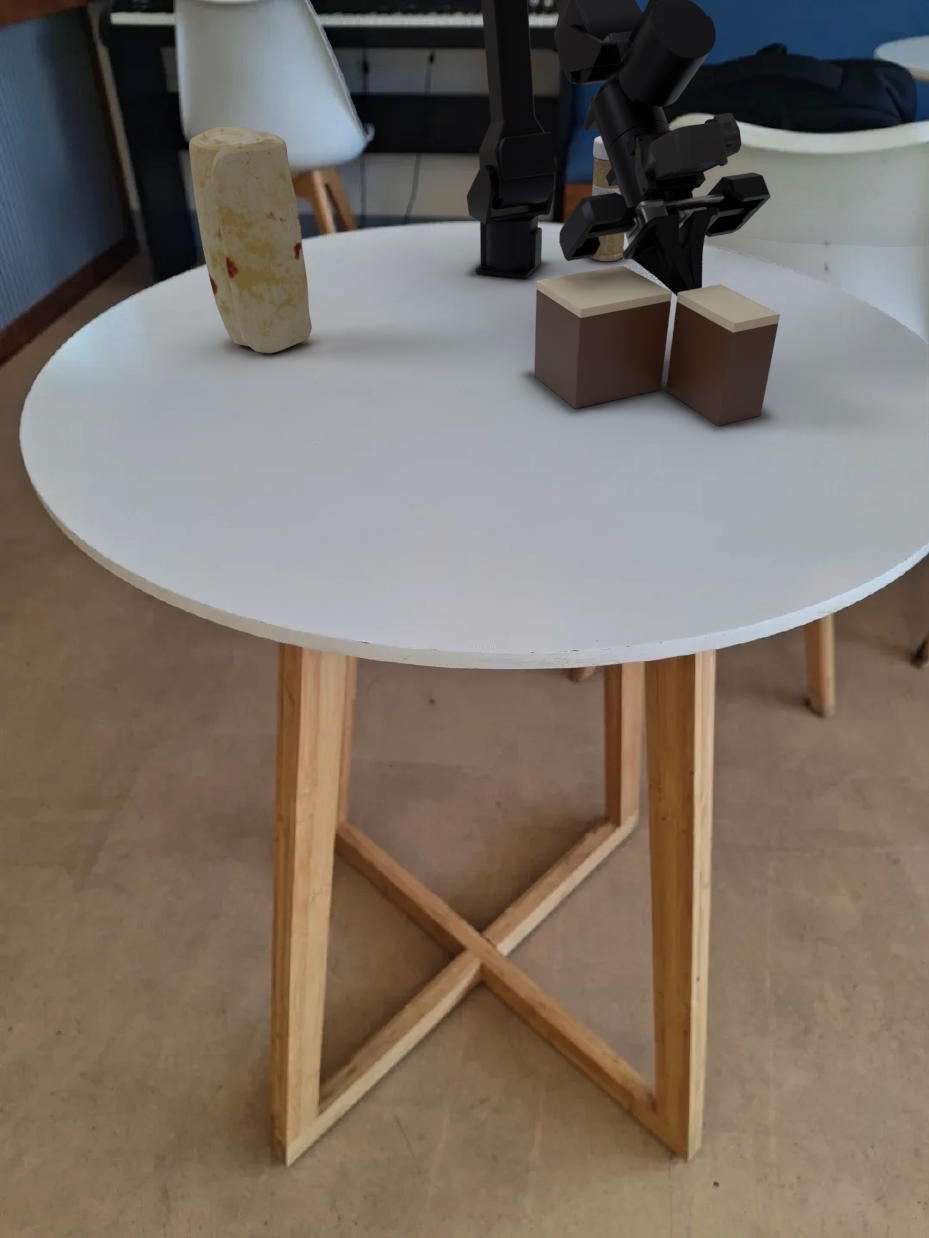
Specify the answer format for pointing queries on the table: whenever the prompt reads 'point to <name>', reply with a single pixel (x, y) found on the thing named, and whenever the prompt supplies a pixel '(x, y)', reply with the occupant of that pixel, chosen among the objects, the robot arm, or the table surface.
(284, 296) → the food model
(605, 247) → the sprinkles bottle
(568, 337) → the box
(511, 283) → the table surface
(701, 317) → the cake slice
